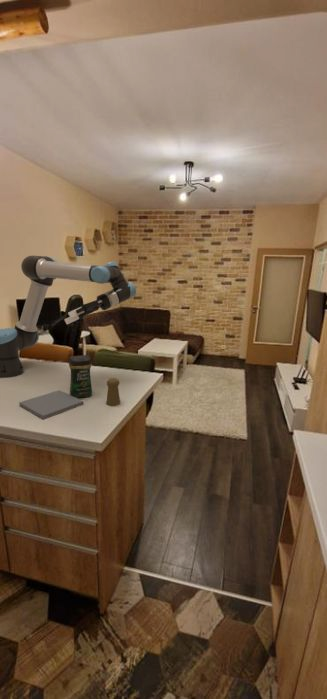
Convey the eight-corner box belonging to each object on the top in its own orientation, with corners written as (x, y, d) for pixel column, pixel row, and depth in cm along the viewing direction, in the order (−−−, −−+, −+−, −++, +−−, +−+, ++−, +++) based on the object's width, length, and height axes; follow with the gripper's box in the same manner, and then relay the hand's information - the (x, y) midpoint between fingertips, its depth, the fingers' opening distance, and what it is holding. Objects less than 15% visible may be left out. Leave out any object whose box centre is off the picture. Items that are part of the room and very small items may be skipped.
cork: (106, 400, 135) (106, 376, 133) (120, 400, 136) (120, 376, 133) (105, 406, 129) (105, 381, 127) (120, 405, 130) (119, 381, 127)
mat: (19, 405, 127) (19, 402, 127) (59, 393, 141) (59, 390, 141) (43, 419, 116) (42, 415, 116) (83, 404, 130) (83, 401, 130)
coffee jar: (72, 400, 134) (70, 359, 130) (68, 393, 141) (66, 354, 137) (94, 396, 139) (93, 357, 134) (89, 390, 145) (88, 352, 141)
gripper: (118, 300, 138) (75, 320, 130) (105, 313, 161) (68, 331, 152) (109, 285, 138) (66, 304, 129) (97, 300, 160) (60, 317, 151)
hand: (67, 318), depth 140 cm, fingers open, 13 cm apart
